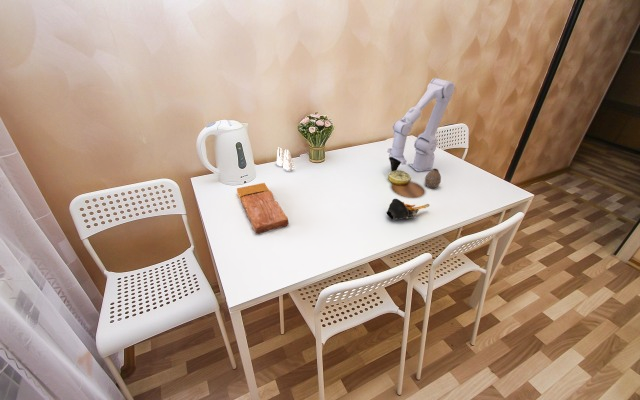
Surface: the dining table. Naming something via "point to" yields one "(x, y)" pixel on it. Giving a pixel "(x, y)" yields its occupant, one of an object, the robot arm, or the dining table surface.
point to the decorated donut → (399, 177)
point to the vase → (433, 178)
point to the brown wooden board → (261, 208)
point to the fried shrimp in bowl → (402, 210)
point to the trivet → (408, 190)
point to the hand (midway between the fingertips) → (393, 171)
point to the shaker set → (284, 159)
